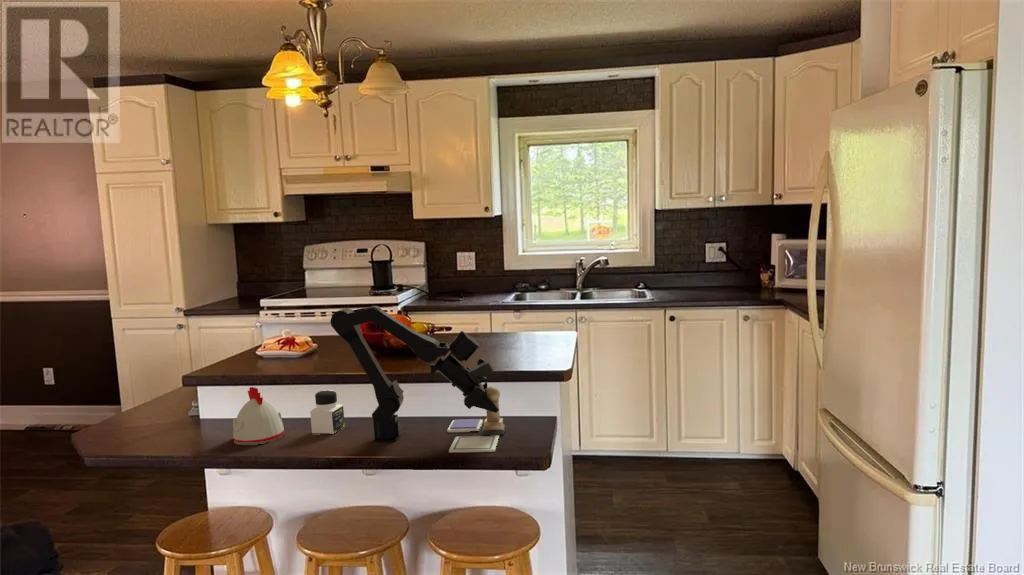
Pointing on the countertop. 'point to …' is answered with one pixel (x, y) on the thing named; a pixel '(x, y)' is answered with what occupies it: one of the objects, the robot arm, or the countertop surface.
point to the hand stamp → (493, 415)
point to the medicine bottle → (327, 413)
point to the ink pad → (465, 425)
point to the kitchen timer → (257, 420)
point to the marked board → (474, 444)
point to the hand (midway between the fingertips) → (497, 409)
